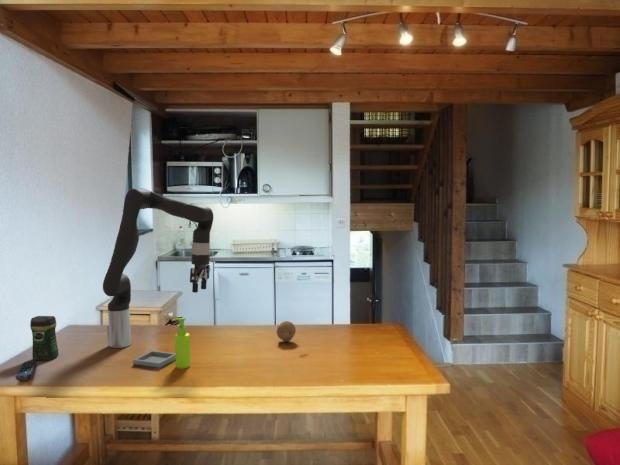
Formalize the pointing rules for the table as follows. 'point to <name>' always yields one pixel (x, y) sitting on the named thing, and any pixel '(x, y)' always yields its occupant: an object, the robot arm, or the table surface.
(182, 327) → the soap dispenser
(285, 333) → the natural sponge
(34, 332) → the coffee jar
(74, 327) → the table surface
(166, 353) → the tray
